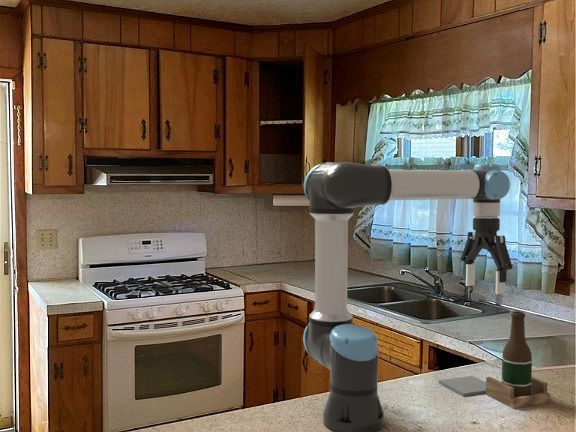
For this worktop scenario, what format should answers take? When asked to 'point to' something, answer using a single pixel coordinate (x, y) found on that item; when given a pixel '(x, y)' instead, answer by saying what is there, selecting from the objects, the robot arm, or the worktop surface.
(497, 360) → the worktop surface
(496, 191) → the robot arm
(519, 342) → the beer bottle
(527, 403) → the cradle
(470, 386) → the coaster
